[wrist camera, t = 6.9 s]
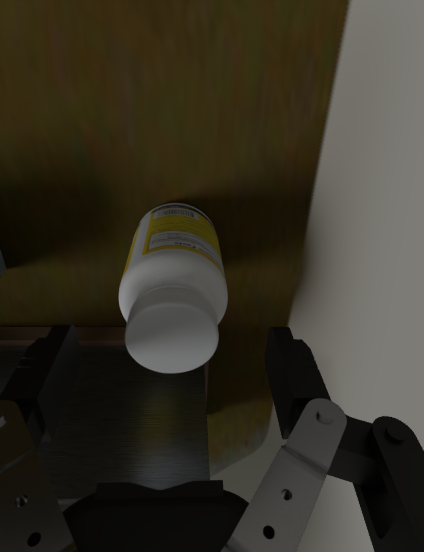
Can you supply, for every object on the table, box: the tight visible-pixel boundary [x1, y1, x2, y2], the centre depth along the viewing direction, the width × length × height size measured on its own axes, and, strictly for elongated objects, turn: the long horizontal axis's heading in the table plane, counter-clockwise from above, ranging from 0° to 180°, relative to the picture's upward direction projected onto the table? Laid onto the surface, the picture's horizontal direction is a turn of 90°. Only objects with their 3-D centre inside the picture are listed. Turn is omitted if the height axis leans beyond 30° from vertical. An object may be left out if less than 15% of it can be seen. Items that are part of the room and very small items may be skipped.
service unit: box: [0, 327, 210, 512], centre depth 23 cm, size 19×11×13 cm, turn 87°
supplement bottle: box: [119, 203, 228, 373], centre depth 19 cm, size 5×5×10 cm
